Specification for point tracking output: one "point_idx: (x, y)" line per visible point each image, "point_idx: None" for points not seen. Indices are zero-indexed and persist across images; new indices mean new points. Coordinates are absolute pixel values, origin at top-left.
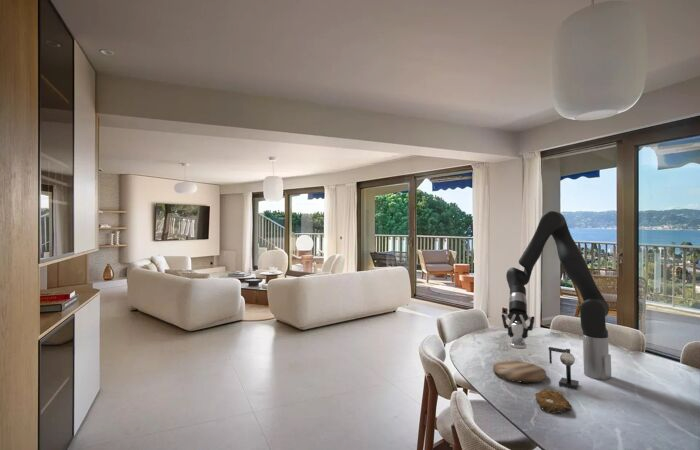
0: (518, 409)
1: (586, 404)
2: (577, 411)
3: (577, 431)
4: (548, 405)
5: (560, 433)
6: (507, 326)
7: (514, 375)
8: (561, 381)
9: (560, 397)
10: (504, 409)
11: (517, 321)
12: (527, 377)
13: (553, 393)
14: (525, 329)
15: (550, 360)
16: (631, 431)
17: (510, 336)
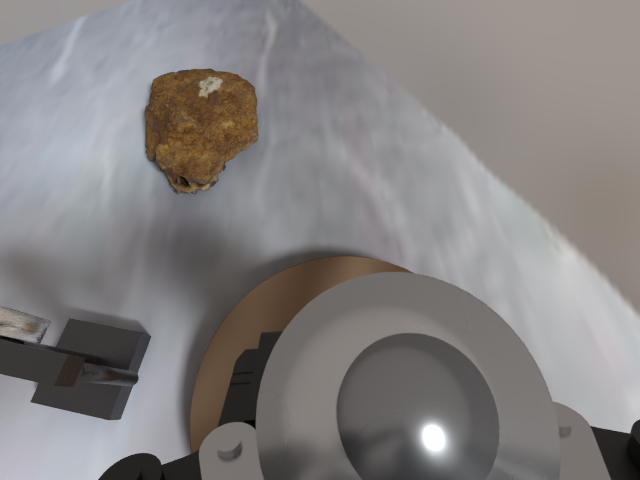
0: (310, 66)
1: (87, 189)
2: (134, 126)
3: (164, 28)
4: (218, 71)
5: (206, 6)
6: (590, 433)
7: (356, 275)
8: (127, 346)
9: (168, 117)
10: (349, 51)
11: (414, 405)
12: (291, 278)
13: (188, 134)
14: (249, 407)
15: (121, 369)
16: (22, 78)
17: None
